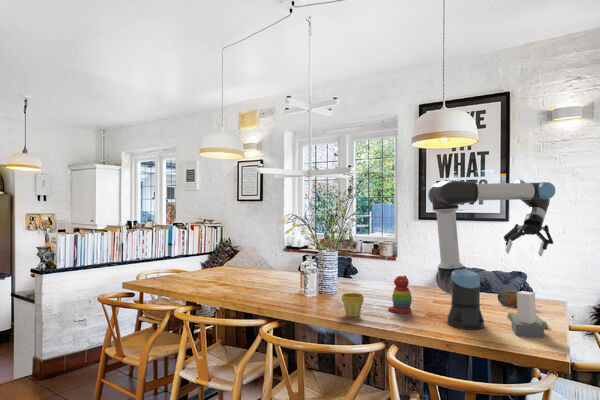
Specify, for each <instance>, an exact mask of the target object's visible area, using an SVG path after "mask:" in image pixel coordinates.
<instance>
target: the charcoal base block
mask: <svg viewBox="0 0 600 400" xmlns="http://www.w3.org/2000/svg"><path fill="white" fill-rule="evenodd" d="M511 330H512V332H513V333H514V335H515V336H518V337H527V338H534V339H535V338H537V339H545V328H544V326H543V325H542V324H541V323H540V321H539V320H536V322H535V323H532V324H527V323H522V322H518V318H512V321H511Z"/></svg>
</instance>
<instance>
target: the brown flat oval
mask: <svg viewBox="0 0 600 400" xmlns="http://www.w3.org/2000/svg"><path fill="white" fill-rule="evenodd" d="M517 292H521V291H518V290H511V289H502V290H500V291H499V292H498V294H497V299H498V302H499V303H500V304H501V305H503V306H505V307H511V308H517Z"/></svg>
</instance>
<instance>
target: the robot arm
mask: <svg viewBox="0 0 600 400" xmlns="http://www.w3.org/2000/svg"><path fill="white" fill-rule="evenodd" d="M555 194H556V187H555V185H554V184H553V183H551V182H546V181H541V182H526V181H525V180H522V179H517V180H515V181H514V182H505V183H504V182H503V183H501V182H500V183H499V182H498V183H496V182H495V183H477V182H476V181H465V180H464V181H462V180H454V179H453V180H444V181H438V182H436V183H434V184H432V185H431V187H430V188H429V190H428V193H427V195H428V200H429V202H430V203H431V205H432V211H433V212H434V213H435V214H436V222H437V234H438V235H437V236H438V245H439V256H440V257H439V258H440V263H439V264H438V265H437V272H436V274H435V282H436V285H437V286H438V288H439V289H440V290H441V291H442V292H444V293H447V294H448V295H450V297H451V298H450V299H451V304H450V305H451V306H450V309H449V312H448V315H447V317H446V318H447V324H448V325H449V326H451V327H454V328H459V329H465V330H481V329H483V328H485V320H484V317H483V314H482V311H481V305H480V300H481V299H480V295H481V294H480V293H481V289H480V288H481V286H480V285H481V280H480V276H479V274H478V273H477V272H476V271H472V270H469V269H465V267H464V265H463V263H462V262H461V261H460V260H461V259H460V252H459V249H460V248H459V240H458V226H457V225H458V224H457V216H456V212H457V211H458V210H459V205H463V204H464V205H465V204H475V203H476V202H478V201H510V200H515V201H516V200H519V201H522V202H523V203H524V204H525V205H526V206H528V209H527V212H526V215H525V217H524V221H523V224H522V225H519V223H515V225H514V227H512V229H510V230H509V231H508V232H507V233H506V234H505V235H504V236H503V240H504V241H505V252H506V254H510V251H511V250H512V246H513V242H514V241H516V240H517V239H518V238H520V237H522V236H525V235H529V236H534V235H536V236H537V237H538V238H539V239H540V241H541V242H540V245H539V246H540V247H539V248H538V254H539V257H542V256H543V254H544V251H546V250H547V249H548V245H553V244H554V241H553V238H552V236H551V234H550V229H549V225H548V224H545V225H544V226H543V224H544V221H545V219H546V218H545V217H546V214H547V212H548V208H549V206H550V202H551V199H552V198H553V197H554V196H555ZM541 231H544V233H545V235H546V236H547V238H546V237H545V236H544V235H543V234H542V233H541Z"/></svg>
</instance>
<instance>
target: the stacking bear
mask: <svg viewBox="0 0 600 400" xmlns="http://www.w3.org/2000/svg"><path fill="white" fill-rule="evenodd" d="M393 283H394V286H395V287H394V288H393V291H392V297H391V298H392V306H389V307H388V312H390V311H391V313H394V312H395V313H394V314H401V313H407V314H411V313H412V308H411V306H412V305H411V304H412V292H411V290H410V288H409V287H408V286H409V283H410V281H409V279H408V277H407V275H398V276H396V278H395V279H393ZM410 312H411V313H410Z"/></svg>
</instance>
